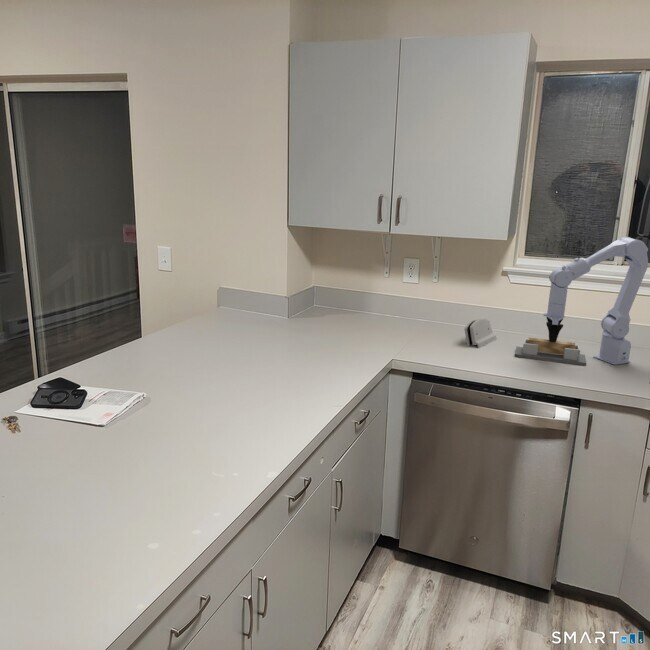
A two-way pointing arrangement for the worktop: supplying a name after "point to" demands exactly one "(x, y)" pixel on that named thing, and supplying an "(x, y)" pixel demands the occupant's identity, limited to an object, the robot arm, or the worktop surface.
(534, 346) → the bracket board
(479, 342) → the grey stand
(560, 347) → the rail
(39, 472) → the worktop surface
